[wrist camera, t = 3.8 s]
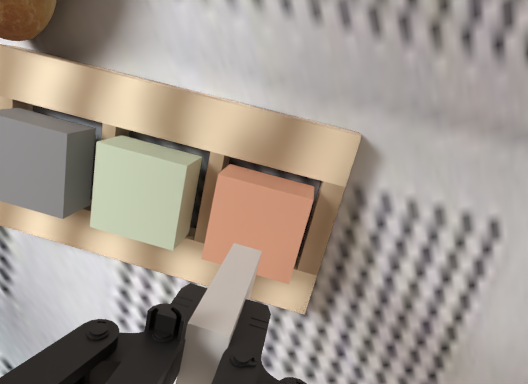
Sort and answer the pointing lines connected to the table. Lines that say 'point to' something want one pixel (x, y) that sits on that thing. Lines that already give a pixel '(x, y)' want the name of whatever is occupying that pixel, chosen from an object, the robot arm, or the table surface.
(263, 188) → the terracotta tile
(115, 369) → the robot arm
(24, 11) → the bread roll
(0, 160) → the charcoal tile
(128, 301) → the table surface
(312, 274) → the board
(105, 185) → the sage tile
